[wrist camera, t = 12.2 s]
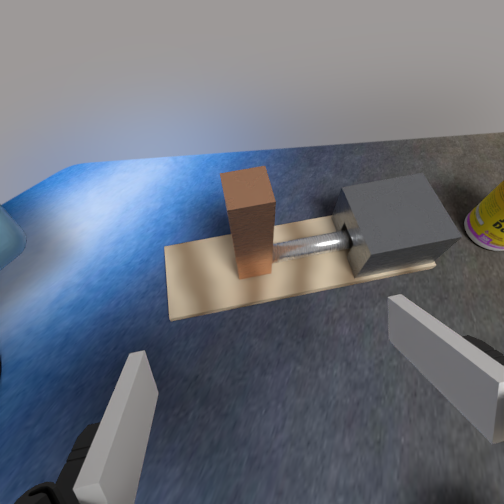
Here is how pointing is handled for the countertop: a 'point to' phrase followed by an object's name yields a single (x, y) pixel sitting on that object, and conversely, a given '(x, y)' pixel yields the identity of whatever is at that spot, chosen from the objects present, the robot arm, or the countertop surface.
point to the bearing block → (393, 224)
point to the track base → (260, 287)
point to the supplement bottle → (488, 221)
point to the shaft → (265, 226)
